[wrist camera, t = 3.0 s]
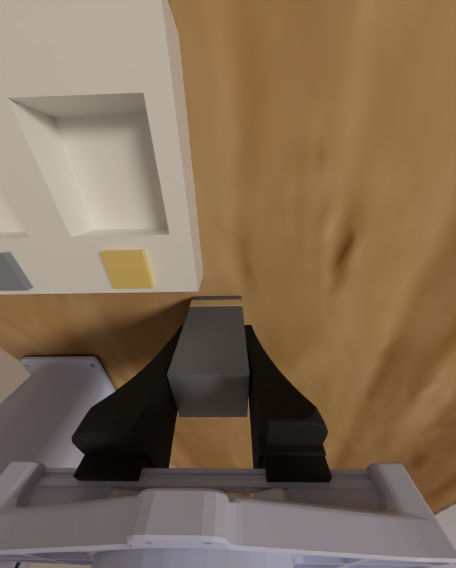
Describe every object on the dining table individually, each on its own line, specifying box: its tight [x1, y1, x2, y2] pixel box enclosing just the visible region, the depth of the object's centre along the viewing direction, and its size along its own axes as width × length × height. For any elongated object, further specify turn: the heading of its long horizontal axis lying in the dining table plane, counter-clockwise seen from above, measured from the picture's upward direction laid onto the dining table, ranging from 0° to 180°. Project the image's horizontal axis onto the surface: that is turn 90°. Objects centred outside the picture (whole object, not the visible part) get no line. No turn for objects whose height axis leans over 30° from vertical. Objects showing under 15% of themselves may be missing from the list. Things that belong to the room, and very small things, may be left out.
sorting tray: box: [0, 0, 203, 294], centre depth 9 cm, size 12×16×3 cm
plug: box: [167, 296, 250, 417], centre depth 12 cm, size 4×4×7 cm
